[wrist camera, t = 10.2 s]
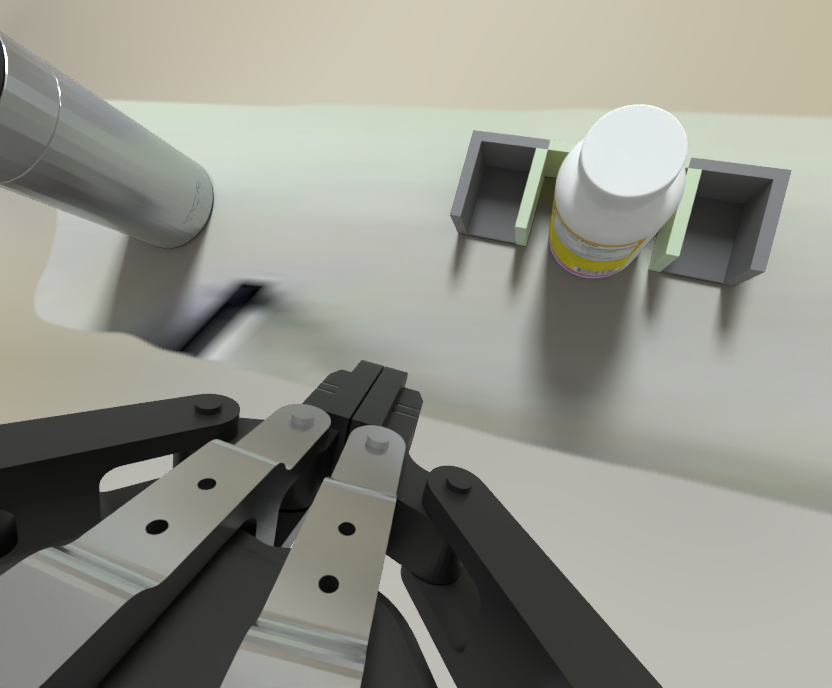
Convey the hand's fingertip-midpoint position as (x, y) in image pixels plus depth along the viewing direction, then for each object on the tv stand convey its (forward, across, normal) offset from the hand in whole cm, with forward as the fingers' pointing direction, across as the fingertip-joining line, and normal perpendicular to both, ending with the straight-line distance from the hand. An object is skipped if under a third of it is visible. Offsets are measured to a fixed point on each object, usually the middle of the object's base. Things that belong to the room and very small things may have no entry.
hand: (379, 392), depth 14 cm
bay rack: (+24, -10, -7) cm, 27 cm away
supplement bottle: (+23, -10, -5) cm, 26 cm away
